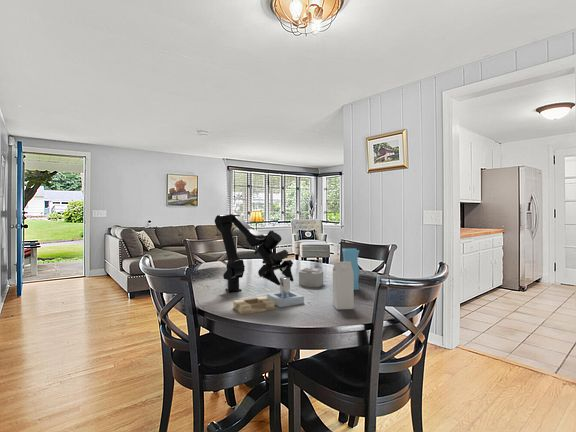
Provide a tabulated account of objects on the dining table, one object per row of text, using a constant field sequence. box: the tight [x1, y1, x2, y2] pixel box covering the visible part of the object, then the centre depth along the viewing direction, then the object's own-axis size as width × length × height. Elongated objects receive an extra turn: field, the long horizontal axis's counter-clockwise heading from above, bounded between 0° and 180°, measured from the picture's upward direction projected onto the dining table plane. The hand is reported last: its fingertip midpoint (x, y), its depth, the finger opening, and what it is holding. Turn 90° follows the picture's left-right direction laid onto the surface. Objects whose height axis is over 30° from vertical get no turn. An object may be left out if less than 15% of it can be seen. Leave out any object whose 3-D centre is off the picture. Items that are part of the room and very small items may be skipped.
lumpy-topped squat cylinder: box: [298, 266, 324, 288], centre depth 179 cm, size 10×13×9 cm
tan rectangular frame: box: [232, 295, 276, 316], centre depth 136 cm, size 10×14×3 cm
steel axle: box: [279, 276, 291, 298], centre depth 146 cm, size 4×4×10 cm
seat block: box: [266, 289, 305, 308], centre depth 146 cm, size 12×12×3 cm
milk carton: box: [332, 261, 355, 311], centre depth 137 cm, size 7×7×19 cm
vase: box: [341, 248, 361, 291], centre depth 170 cm, size 8×8×20 cm
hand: (286, 283), depth 145 cm, fingers open, 9 cm apart
